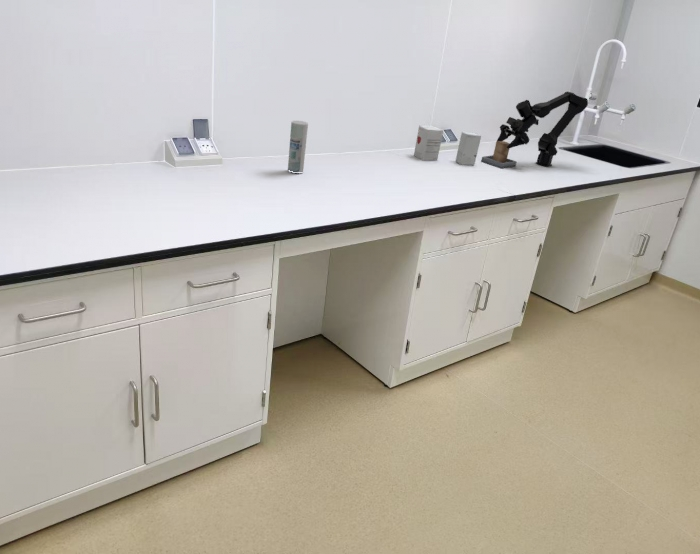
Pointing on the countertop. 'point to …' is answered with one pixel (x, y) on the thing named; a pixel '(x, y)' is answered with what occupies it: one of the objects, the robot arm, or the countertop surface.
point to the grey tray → (498, 164)
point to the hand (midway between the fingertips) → (501, 145)
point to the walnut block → (501, 151)
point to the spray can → (297, 146)
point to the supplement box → (428, 142)
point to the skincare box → (468, 148)
